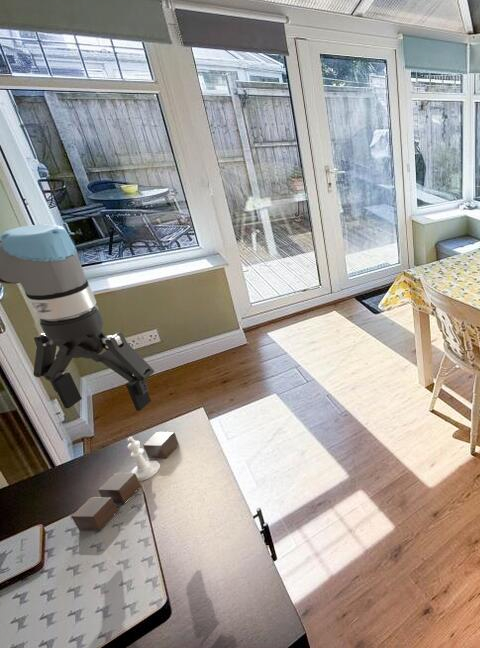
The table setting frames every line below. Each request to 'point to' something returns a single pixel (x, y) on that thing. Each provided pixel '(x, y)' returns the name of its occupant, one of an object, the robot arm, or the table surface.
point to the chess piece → (142, 461)
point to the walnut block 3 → (161, 445)
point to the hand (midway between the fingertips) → (108, 404)
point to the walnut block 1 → (94, 513)
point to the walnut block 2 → (120, 487)
